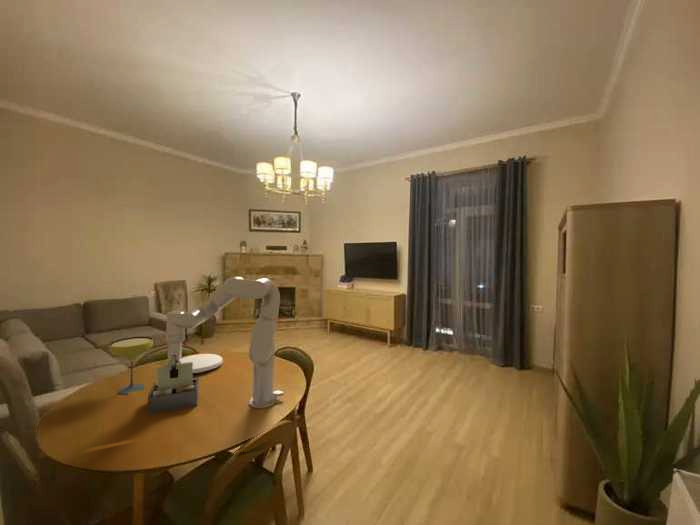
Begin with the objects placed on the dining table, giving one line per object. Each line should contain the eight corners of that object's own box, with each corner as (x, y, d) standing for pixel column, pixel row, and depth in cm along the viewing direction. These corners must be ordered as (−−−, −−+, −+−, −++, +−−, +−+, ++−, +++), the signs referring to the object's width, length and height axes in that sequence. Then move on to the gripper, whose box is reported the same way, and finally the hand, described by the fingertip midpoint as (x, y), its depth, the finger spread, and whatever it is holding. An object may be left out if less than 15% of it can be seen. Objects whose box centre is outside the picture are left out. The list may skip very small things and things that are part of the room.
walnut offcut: (194, 401, 136) (194, 384, 136) (193, 404, 133) (193, 387, 133) (177, 404, 133) (177, 387, 133) (176, 407, 130) (176, 390, 130)
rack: (198, 394, 145) (198, 376, 145) (197, 407, 132) (197, 388, 132) (153, 401, 137) (153, 383, 136) (147, 416, 124) (147, 396, 124)
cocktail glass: (144, 395, 142) (145, 345, 141) (101, 400, 137) (101, 348, 136) (158, 380, 159) (158, 335, 159) (119, 383, 154) (119, 337, 154)
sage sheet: (192, 398, 139) (192, 361, 138) (192, 399, 137) (192, 362, 137) (157, 404, 133) (158, 365, 132) (157, 405, 131) (157, 366, 131)
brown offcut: (172, 405, 132) (172, 388, 132) (171, 408, 129) (171, 391, 129) (153, 408, 129) (153, 390, 129) (152, 411, 126) (152, 393, 126)
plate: (196, 350, 195) (231, 354, 189) (196, 360, 194) (231, 364, 189) (162, 361, 167) (202, 366, 162) (161, 372, 167) (201, 377, 161)
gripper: (169, 333, 140) (168, 368, 141) (163, 343, 125) (162, 382, 125) (186, 332, 144) (186, 365, 144) (183, 342, 128) (182, 379, 128)
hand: (175, 373), depth 135 cm, fingers open, 9 cm apart
